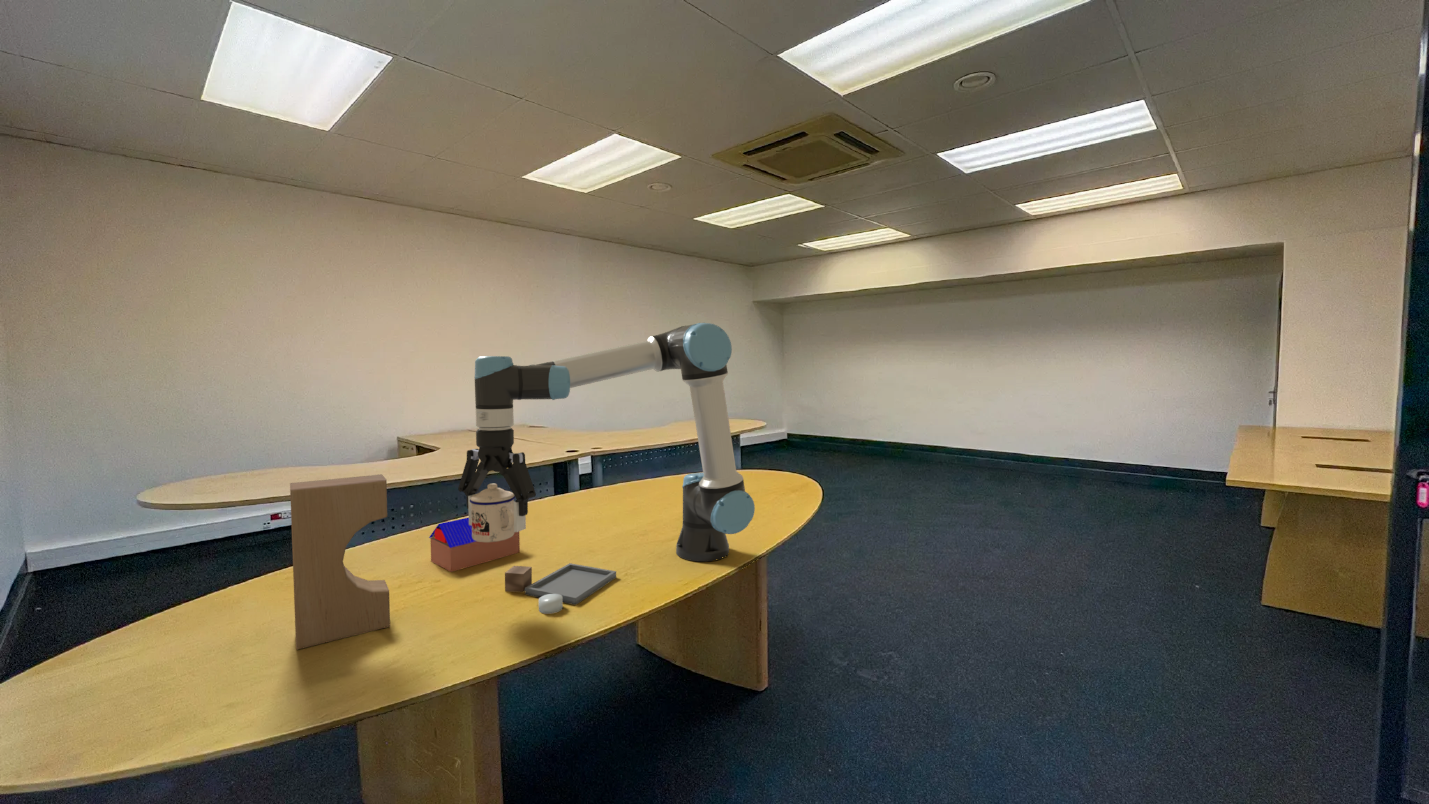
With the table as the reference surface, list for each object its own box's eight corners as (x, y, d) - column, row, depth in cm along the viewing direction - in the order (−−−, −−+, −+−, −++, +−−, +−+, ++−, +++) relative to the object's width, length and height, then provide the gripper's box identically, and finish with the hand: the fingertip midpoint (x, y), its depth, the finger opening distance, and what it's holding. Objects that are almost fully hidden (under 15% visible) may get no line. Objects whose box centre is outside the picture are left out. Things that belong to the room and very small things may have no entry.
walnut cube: (531, 584, 130) (531, 566, 130) (523, 592, 126) (523, 573, 126) (513, 583, 131) (513, 565, 131) (504, 591, 126) (504, 572, 126)
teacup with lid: (462, 537, 117) (461, 484, 116) (500, 527, 125) (499, 477, 124) (493, 549, 110) (491, 493, 109) (531, 537, 117) (530, 485, 117)
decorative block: (296, 650, 99) (290, 490, 97) (295, 634, 105) (289, 482, 103) (390, 627, 108) (386, 480, 106) (385, 613, 114) (381, 473, 112)
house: (521, 553, 153) (521, 512, 152) (450, 573, 137) (449, 528, 136) (498, 543, 160) (498, 505, 159) (429, 562, 145) (428, 519, 144)
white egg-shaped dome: (567, 606, 119) (567, 596, 119) (552, 616, 115) (552, 605, 114) (548, 602, 121) (548, 592, 121) (533, 611, 116) (533, 601, 116)
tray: (616, 577, 135) (616, 571, 135) (575, 605, 120) (575, 598, 120) (569, 569, 140) (569, 563, 140) (524, 594, 125) (524, 587, 125)
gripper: (438, 427, 116) (441, 525, 118) (528, 432, 108) (530, 538, 109) (465, 423, 123) (468, 516, 125) (552, 428, 115) (553, 528, 116)
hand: (497, 527), depth 117 cm, fingers closed on teacup with lid, 12 cm apart
